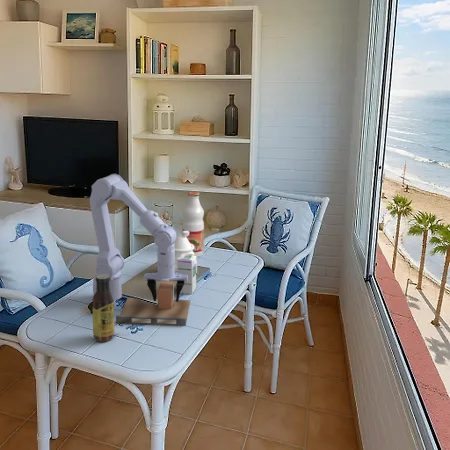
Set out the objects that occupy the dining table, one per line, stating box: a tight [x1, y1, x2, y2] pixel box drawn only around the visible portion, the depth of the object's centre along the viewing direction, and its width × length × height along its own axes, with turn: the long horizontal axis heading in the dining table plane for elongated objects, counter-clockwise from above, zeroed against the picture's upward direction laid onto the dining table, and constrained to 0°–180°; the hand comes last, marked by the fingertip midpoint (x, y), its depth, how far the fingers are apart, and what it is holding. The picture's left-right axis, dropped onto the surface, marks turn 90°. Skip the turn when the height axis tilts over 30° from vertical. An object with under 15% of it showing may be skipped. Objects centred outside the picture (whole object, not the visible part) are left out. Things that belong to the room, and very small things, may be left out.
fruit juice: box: [182, 191, 205, 258], centre depth 216 cm, size 9×9×28 cm
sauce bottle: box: [92, 274, 115, 343], centre depth 147 cm, size 7×6×20 cm
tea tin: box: [157, 281, 175, 309], centre depth 168 cm, size 4×6×7 cm
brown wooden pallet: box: [115, 297, 191, 327], centre depth 164 cm, size 22×18×3 cm
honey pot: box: [173, 230, 198, 274], centre depth 196 cm, size 13×13×18 cm
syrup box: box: [177, 254, 197, 296], centre depth 179 cm, size 6×6×14 cm
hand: (166, 300), depth 169 cm, fingers open, 7 cm apart
